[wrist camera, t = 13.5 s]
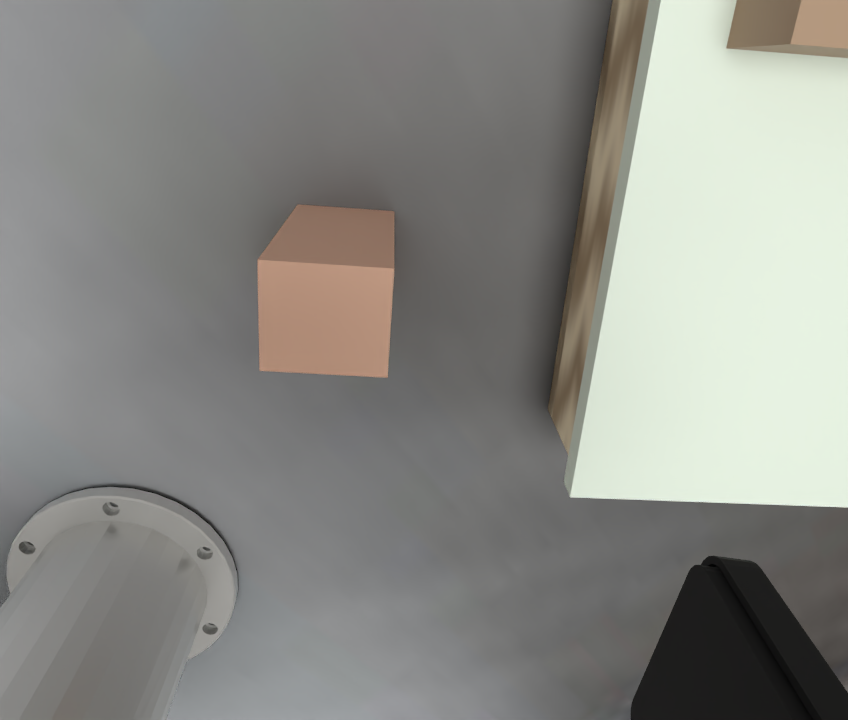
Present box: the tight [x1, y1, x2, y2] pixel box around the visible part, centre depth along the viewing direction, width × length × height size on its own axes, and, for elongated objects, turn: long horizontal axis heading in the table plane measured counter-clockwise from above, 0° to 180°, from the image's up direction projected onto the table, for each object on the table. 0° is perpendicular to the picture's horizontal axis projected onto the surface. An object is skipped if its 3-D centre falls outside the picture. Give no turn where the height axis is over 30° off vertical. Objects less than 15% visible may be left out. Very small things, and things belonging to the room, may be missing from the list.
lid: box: [564, 0, 848, 507], centre depth 25 cm, size 21×15×5 cm
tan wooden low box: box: [548, 0, 649, 455], centre depth 30 cm, size 20×14×6 cm
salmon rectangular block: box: [257, 204, 394, 378], centre depth 28 cm, size 4×4×10 cm
